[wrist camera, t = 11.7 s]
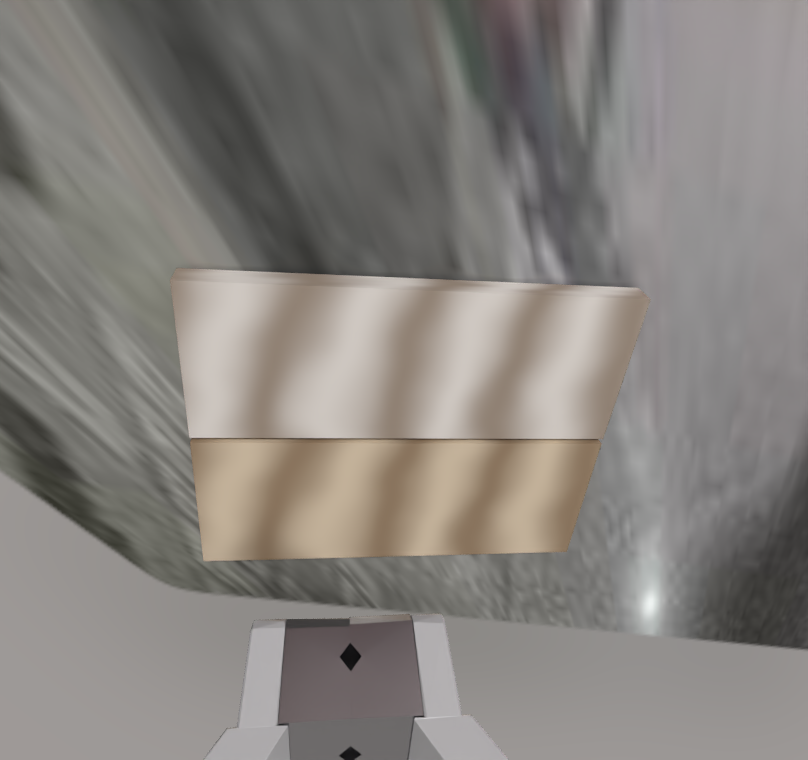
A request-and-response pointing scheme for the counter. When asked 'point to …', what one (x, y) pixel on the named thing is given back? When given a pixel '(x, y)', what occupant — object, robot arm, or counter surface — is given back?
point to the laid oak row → (387, 496)
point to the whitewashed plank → (399, 356)
